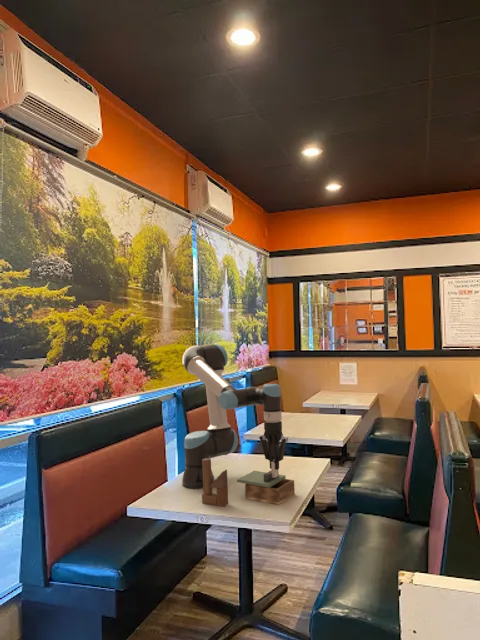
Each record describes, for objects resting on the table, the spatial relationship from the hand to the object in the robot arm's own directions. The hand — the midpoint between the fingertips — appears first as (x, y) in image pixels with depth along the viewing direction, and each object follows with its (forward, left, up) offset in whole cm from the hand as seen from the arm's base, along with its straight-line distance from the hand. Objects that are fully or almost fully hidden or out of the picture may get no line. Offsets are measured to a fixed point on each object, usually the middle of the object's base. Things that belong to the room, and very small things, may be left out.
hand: (274, 476), depth 209 cm
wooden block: (-18, -18, -9) cm, 27 cm away
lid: (-7, 0, -2) cm, 7 cm away
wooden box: (-3, 0, -9) cm, 9 cm away
